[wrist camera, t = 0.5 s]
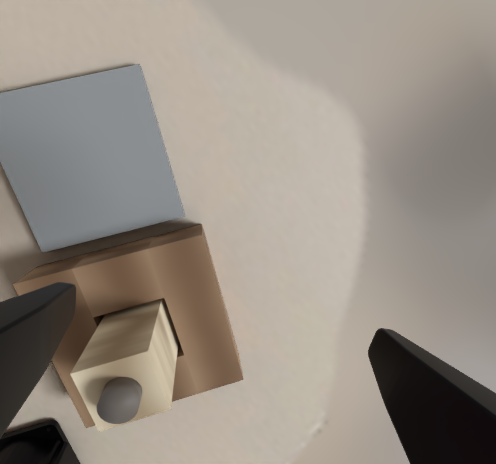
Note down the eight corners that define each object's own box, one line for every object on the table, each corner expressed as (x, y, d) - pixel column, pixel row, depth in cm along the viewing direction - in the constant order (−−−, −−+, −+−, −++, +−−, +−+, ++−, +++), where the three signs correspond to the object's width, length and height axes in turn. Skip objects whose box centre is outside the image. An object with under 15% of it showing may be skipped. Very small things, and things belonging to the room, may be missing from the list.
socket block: (99, 396, 25) (86, 428, 22) (38, 266, 21) (12, 284, 18) (238, 354, 26) (243, 379, 23) (201, 224, 22) (201, 234, 19)
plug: (131, 342, 24) (92, 449, 15) (113, 299, 23) (61, 389, 14) (180, 328, 24) (168, 425, 16) (165, 285, 23) (144, 364, 14)
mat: (46, 250, 21) (42, 252, 20) (-22, 100, 18) (-29, 98, 18) (184, 214, 22) (184, 216, 21) (140, 66, 19) (139, 63, 18)
